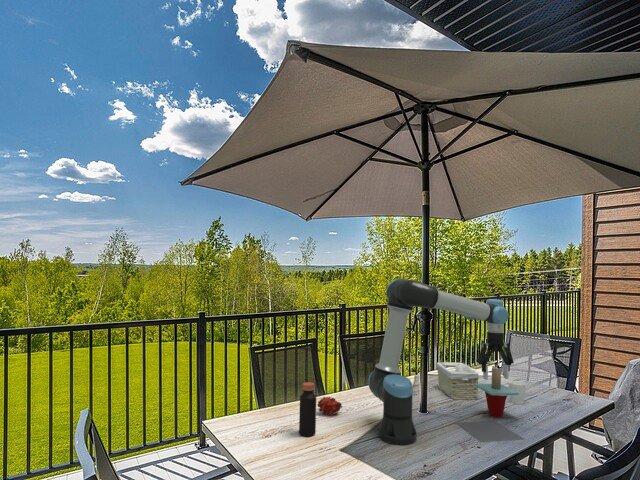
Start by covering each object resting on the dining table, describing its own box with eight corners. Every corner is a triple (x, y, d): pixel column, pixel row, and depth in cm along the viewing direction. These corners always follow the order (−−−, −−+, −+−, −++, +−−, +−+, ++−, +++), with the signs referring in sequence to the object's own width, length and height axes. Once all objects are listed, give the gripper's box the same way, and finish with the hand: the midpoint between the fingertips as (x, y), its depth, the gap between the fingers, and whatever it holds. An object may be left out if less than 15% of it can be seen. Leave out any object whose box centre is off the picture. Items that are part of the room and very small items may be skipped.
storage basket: (480, 401, 208) (480, 372, 209) (450, 400, 208) (450, 372, 209) (462, 387, 232) (462, 362, 233) (435, 387, 232) (435, 361, 233)
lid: (491, 395, 179) (492, 372, 179) (474, 385, 192) (474, 365, 193) (519, 395, 181) (519, 373, 182) (499, 385, 195) (500, 365, 196)
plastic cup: (511, 421, 180) (511, 394, 181) (486, 419, 182) (486, 392, 183) (505, 413, 190) (505, 387, 191) (481, 411, 192) (481, 386, 193)
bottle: (306, 429, 166) (307, 380, 168) (318, 433, 162) (319, 383, 163) (295, 434, 161) (296, 384, 162) (308, 438, 156) (309, 387, 158)
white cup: (526, 401, 208) (525, 382, 209) (524, 405, 202) (524, 386, 202) (509, 398, 212) (509, 380, 213) (507, 402, 206) (507, 383, 207)
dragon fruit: (315, 416, 185) (340, 420, 185) (317, 411, 178) (343, 415, 178) (317, 398, 190) (341, 402, 190) (319, 392, 184) (344, 396, 184)
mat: (480, 443, 156) (480, 442, 156) (454, 423, 176) (454, 422, 176) (525, 440, 160) (525, 439, 160) (494, 421, 179) (494, 420, 179)
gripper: (478, 333, 183) (478, 381, 182) (521, 332, 187) (522, 380, 186) (469, 330, 191) (469, 377, 189) (511, 330, 195) (511, 376, 193)
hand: (495, 378), depth 187 cm, fingers open, 10 cm apart
